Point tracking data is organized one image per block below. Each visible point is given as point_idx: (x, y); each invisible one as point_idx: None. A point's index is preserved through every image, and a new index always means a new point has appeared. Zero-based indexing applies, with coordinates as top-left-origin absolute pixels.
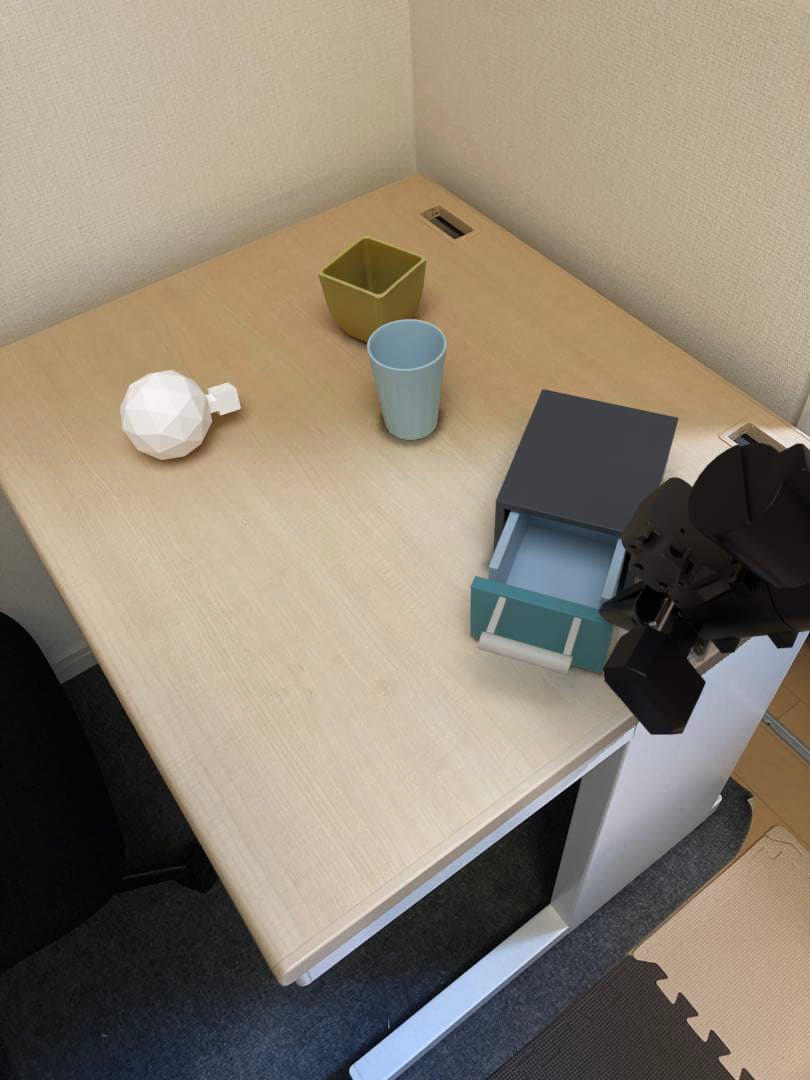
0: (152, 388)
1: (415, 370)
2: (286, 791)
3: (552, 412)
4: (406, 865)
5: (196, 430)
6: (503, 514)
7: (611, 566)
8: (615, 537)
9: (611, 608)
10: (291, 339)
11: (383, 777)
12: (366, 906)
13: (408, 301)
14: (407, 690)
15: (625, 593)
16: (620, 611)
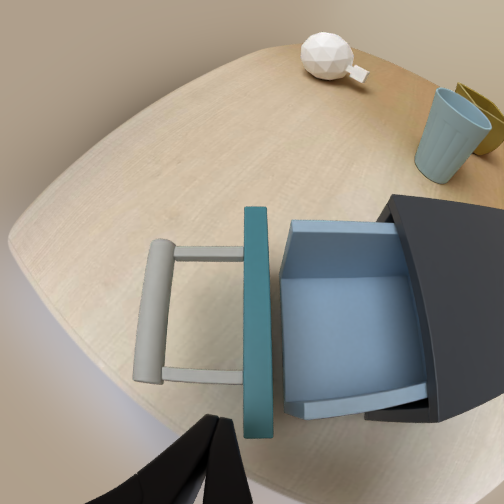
0: (325, 34)
1: (454, 111)
2: (84, 192)
3: None
4: (38, 282)
5: (325, 62)
6: (386, 219)
7: (372, 396)
8: None
9: (178, 446)
10: (425, 107)
11: (93, 245)
12: (20, 266)
13: (489, 136)
14: (173, 235)
15: (221, 478)
16: (141, 471)
